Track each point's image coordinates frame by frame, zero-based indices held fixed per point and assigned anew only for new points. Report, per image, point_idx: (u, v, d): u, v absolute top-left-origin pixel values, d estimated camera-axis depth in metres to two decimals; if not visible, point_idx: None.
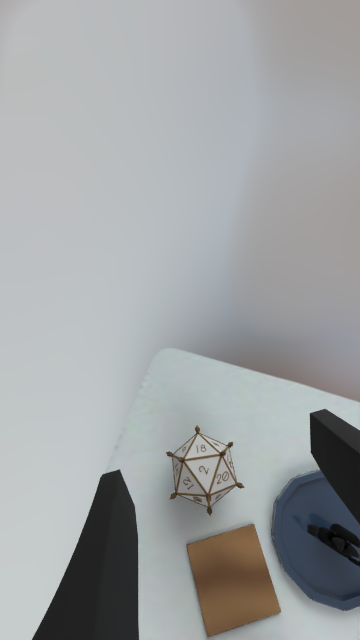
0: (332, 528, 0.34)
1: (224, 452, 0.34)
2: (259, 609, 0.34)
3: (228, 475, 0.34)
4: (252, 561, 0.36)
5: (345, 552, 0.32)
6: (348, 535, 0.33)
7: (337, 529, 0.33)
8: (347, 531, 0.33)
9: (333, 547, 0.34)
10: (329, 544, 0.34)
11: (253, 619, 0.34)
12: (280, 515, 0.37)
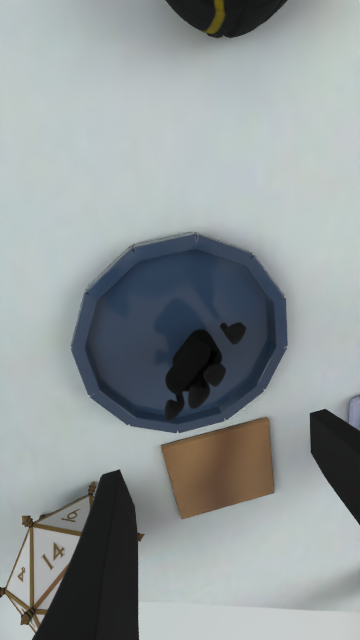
0: (172, 392, 0.16)
1: (24, 623, 0.16)
2: (260, 443, 0.24)
3: None
4: (208, 451, 0.24)
5: None
6: (186, 373, 0.16)
7: (174, 390, 0.16)
8: (180, 370, 0.16)
9: None
10: (198, 386, 0.18)
11: (269, 450, 0.25)
12: (150, 422, 0.21)
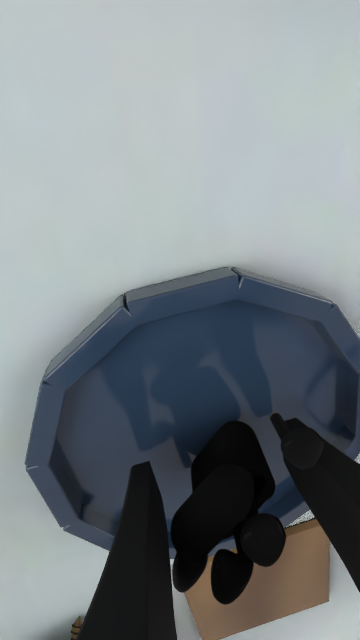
0: None
1: None
2: (316, 550, 0.17)
3: None
4: None
5: None
6: (208, 531, 0.08)
7: (186, 557, 0.08)
8: (195, 522, 0.08)
9: None
10: (232, 532, 0.10)
11: (326, 556, 0.18)
12: None
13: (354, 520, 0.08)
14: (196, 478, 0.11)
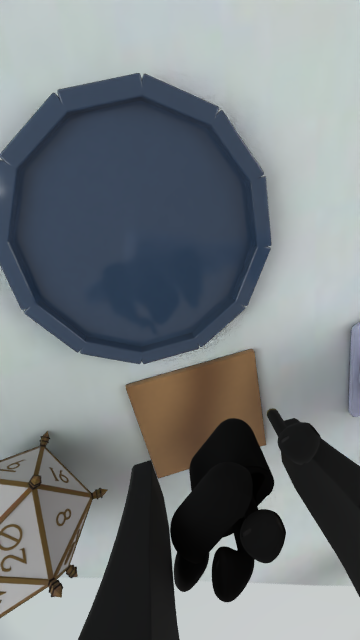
0: None
1: None
2: (246, 382, 0.20)
3: (8, 526, 0.14)
4: (183, 391, 0.20)
5: None
6: (207, 529, 0.08)
7: (186, 556, 0.08)
8: (195, 521, 0.08)
9: None
10: (232, 529, 0.10)
11: (257, 390, 0.21)
12: (106, 349, 0.17)
13: (352, 521, 0.08)
14: (195, 477, 0.11)
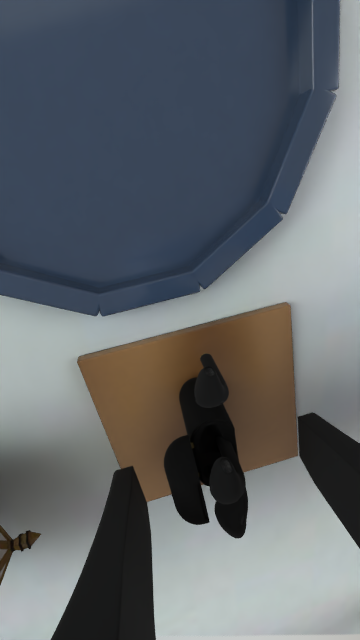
0: None
1: None
2: (275, 357, 0.13)
3: None
4: (173, 369, 0.12)
5: None
6: (189, 502, 0.09)
7: (198, 523, 0.10)
8: (178, 501, 0.09)
9: None
10: None
11: (290, 372, 0.13)
12: (31, 284, 0.09)
13: None
14: None
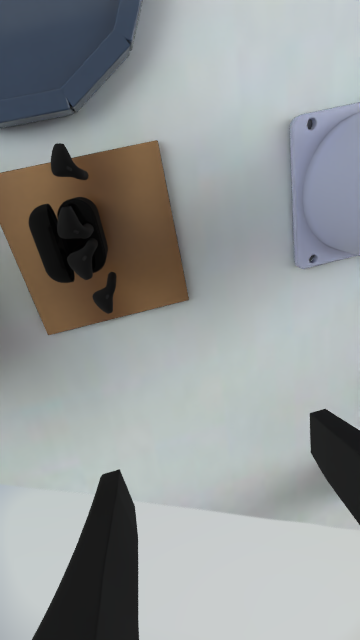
0: (68, 282, 0.13)
1: None
2: (151, 191, 0.16)
3: None
4: (64, 194, 0.15)
5: (86, 236, 0.12)
6: (46, 250, 0.12)
7: (59, 277, 0.12)
8: (41, 253, 0.12)
9: (99, 244, 0.13)
10: (101, 254, 0.14)
11: (168, 208, 0.16)
12: None
13: None
14: None
